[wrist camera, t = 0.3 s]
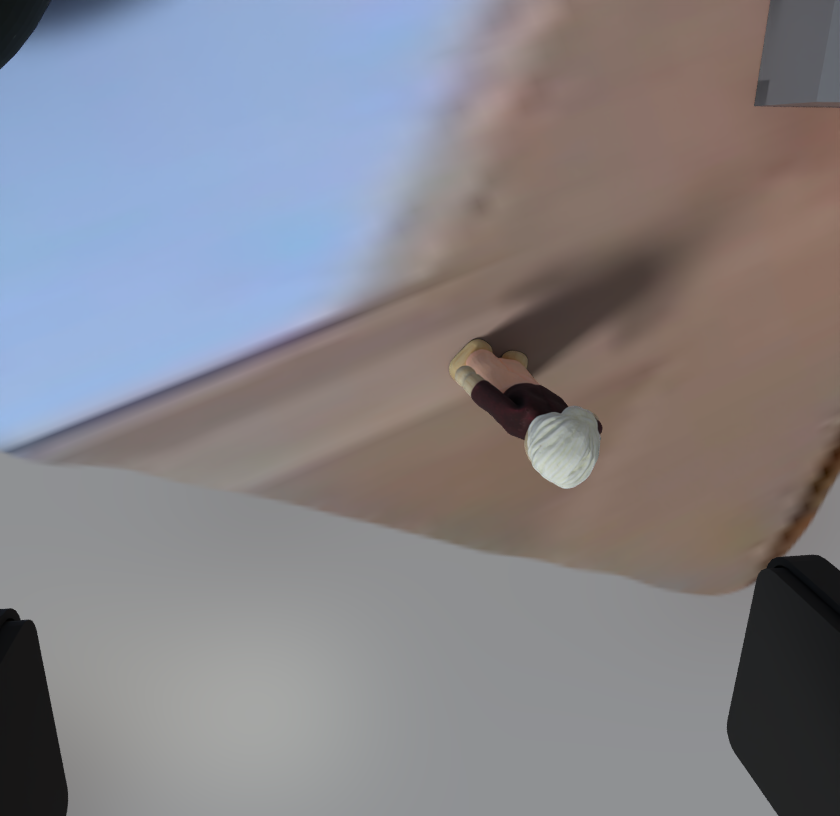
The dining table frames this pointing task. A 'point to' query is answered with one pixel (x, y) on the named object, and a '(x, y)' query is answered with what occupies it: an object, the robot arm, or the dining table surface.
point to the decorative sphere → (18, 24)
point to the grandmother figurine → (530, 413)
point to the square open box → (801, 55)
